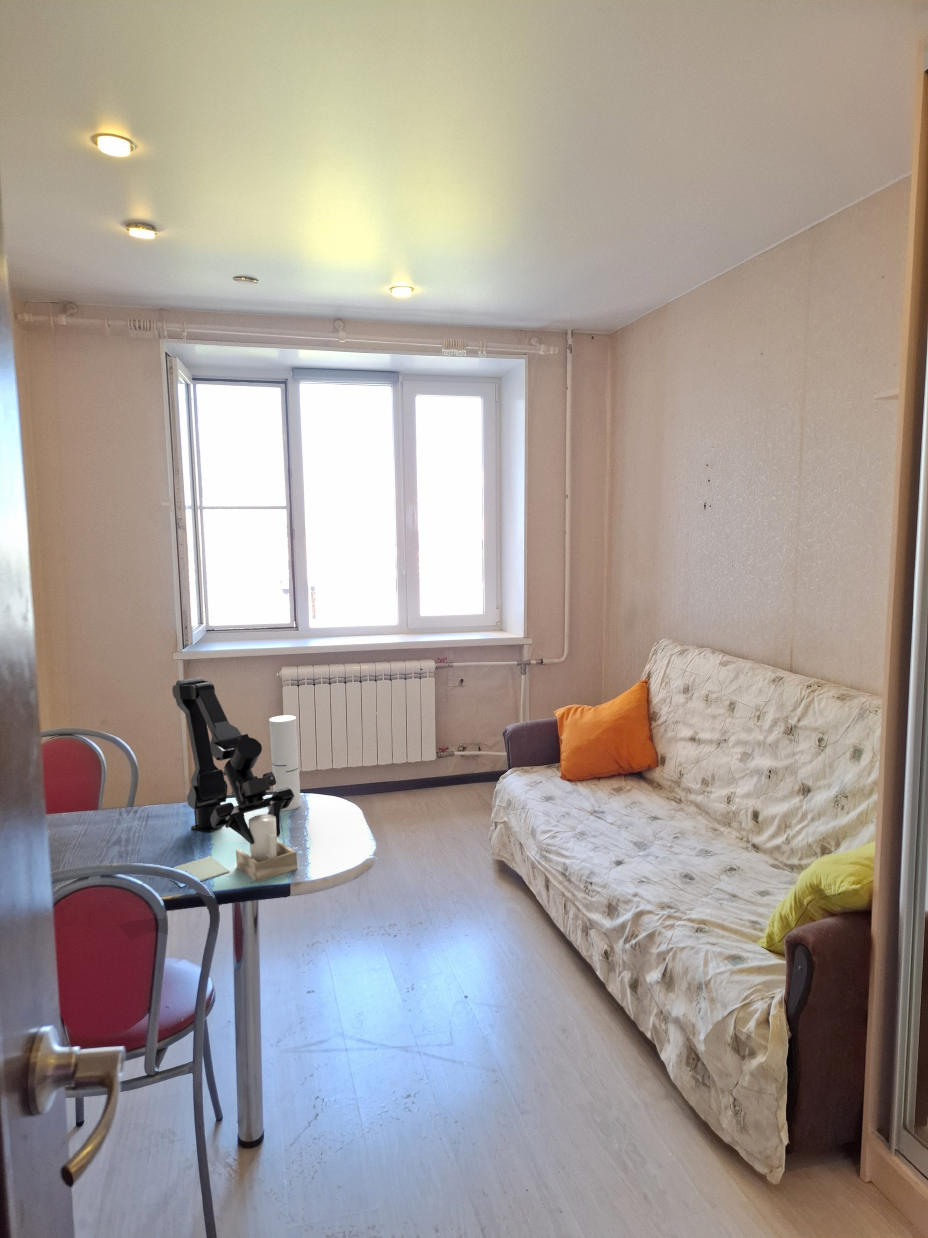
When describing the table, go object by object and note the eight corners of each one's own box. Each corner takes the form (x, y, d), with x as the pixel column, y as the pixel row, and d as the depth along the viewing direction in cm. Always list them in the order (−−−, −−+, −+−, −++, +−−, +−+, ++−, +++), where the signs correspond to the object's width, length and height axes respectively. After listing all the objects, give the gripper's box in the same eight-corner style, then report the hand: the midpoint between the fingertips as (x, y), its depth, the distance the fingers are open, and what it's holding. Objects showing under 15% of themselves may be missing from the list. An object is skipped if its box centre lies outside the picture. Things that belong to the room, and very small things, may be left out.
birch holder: (236, 866, 175) (235, 850, 174) (275, 854, 181) (274, 838, 180) (257, 882, 167) (256, 864, 166) (297, 868, 173) (296, 852, 172)
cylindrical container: (276, 802, 217) (271, 716, 214) (302, 800, 217) (297, 714, 214) (272, 811, 210) (267, 722, 207) (298, 809, 210) (293, 721, 207)
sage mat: (163, 871, 173) (163, 870, 173) (210, 857, 180) (210, 856, 180) (180, 887, 165) (180, 886, 165) (229, 872, 172) (229, 871, 172)
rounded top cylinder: (246, 865, 175) (244, 819, 174) (271, 857, 179) (268, 812, 177) (262, 876, 169) (259, 829, 167) (287, 868, 173) (284, 822, 171)
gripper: (211, 771, 169) (235, 834, 162) (288, 754, 181) (313, 811, 174) (200, 797, 176) (222, 858, 169) (275, 778, 188) (299, 834, 181)
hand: (265, 839), depth 173 cm, fingers closed on rounded top cylinder, 6 cm apart
